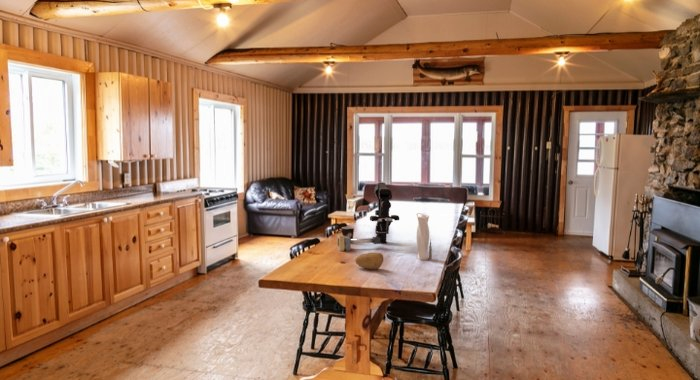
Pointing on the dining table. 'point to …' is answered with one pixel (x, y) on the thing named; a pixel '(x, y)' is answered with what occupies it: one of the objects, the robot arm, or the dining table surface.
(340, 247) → the spacer
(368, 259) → the potato
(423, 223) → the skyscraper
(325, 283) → the dining table surface
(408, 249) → the dining table surface
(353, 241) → the shaft
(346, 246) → the pillow block
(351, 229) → the coffee mug
